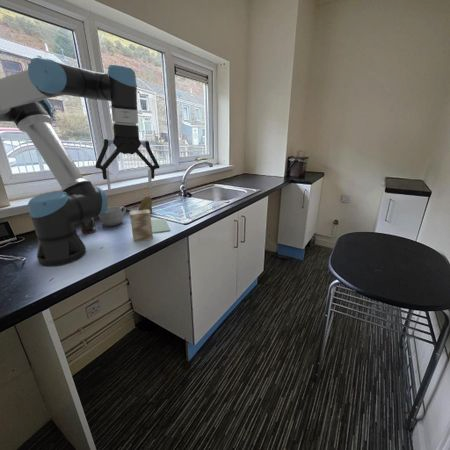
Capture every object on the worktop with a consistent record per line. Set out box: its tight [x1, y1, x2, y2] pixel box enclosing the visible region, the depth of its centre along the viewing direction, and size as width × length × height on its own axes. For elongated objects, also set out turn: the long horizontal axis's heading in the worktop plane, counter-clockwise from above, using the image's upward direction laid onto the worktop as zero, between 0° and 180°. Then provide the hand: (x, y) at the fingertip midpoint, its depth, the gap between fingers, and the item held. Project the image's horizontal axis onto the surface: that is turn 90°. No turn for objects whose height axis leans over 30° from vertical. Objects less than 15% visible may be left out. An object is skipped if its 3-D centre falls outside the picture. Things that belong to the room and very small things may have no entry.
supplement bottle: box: [79, 218, 97, 235], centre depth 110 cm, size 6×6×11 cm
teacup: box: [98, 205, 127, 227], centre depth 121 cm, size 14×11×8 cm
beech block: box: [129, 209, 154, 242], centre depth 104 cm, size 8×5×12 cm, turn 111°
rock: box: [137, 196, 153, 214], centre depth 136 cm, size 11×9×10 cm
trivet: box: [151, 218, 171, 234], centre depth 118 cm, size 13×17×1 cm
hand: (130, 187), depth 85 cm, fingers open, 13 cm apart
